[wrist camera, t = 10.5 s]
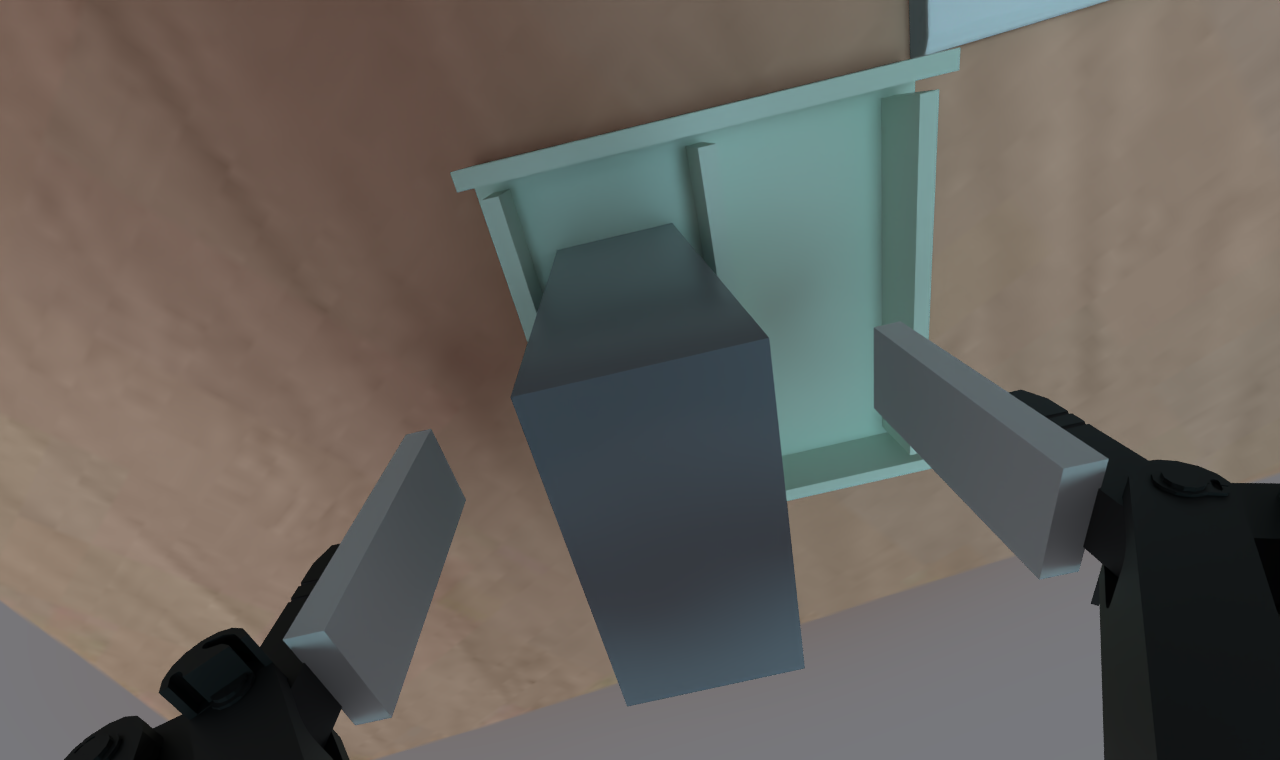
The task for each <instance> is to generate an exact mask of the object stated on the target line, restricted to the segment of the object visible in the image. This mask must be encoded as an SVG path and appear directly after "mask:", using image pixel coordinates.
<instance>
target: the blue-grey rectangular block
mask: <svg viewBox="0 0 1280 760" xmlns="http://www.w3.org/2000/svg"><path fill="white" fill-rule="evenodd" d="M511 400H512V402H513V405H514V408H515V410H516V413H517V416H518V418H519V421H520V424H521V426H522V429H523V432H524V434H525V437H526V439H527V442H528V445H529V447H530V450H531V453H532V455H533V458H534V461H535V463H536V466H537V469H538V471H539V474H540V477H541V479H542V482H543V484H544V487H545V490H546V492H547V495H548V498H549V500H550V503H551V506H552V508H553V511H554V514H555V516H556V519H557V522H558V524H559V527H560V529H561V532H562V535H563V537H564V540H565V543H566V545H567V548H568V551H569V553H570V556H571V559H572V561H573V564H574V567H575V569H576V572H577V574H578V577H579V580H580V582H581V585H582V588H583V590H584V593H585V596H586V598H587V601H588V604H589V606H590V609H591V612H592V614H593V617H594V619H595V622H596V625H597V627H598V630H599V633H600V635H601V638H602V641H603V643H604V646H605V649H606V651H607V654H608V656H609V659H610V662H611V664H612V667H613V670H614V672H615V675H616V678H617V680H618V683H619V686H620V688H621V691H622V694H623V696H624V699H625V701H626V704H627V706H632V705H636V704H641V703H646V702H650V701H655V700H660V699H664V698H669V697H674V696H678V695H683V694H688V693H692V692H697V691H702V690H706V689H711V688H715V687H720V686H725V685H729V684H734V683H739V682H743V681H748V680H753V679H757V678H762V677H767V676H771V675H776V674H780V673H785V672H790V671H794V670H799V669H803V668H805V666H804V657H803V648H802V639H801V629H800V620H799V610H798V601H797V592H796V583H795V573H794V564H793V555H792V545H791V536H790V527H789V517H788V508H787V499H786V490H785V480H784V471H783V462H782V452H781V443H780V434H779V424H778V415H777V406H776V396H775V387H774V378H773V369H772V359H771V350H770V341H769V337H768V336H767V335H766V333H765V332H764V331H763V330H762V329H761V327H760V326H759V325H758V324H757V323H756V322H755V320H754V319H753V318H752V317H751V316H750V314H749V313H748V312H747V311H746V310H745V308H744V307H743V306H742V305H741V304H740V303H739V301H738V300H737V299H736V298H735V297H734V295H733V294H732V293H731V292H730V291H729V290H728V288H727V287H726V286H725V285H724V284H723V282H722V281H721V280H720V279H719V278H718V276H717V275H716V274H715V273H714V272H713V271H712V269H711V268H710V267H709V266H708V265H707V263H706V262H705V261H704V260H703V259H702V258H701V256H700V255H699V254H698V253H697V252H696V250H695V249H694V248H693V247H692V246H691V244H690V243H689V242H688V241H687V240H686V239H685V237H684V236H683V235H682V234H681V233H680V231H679V230H678V229H677V228H676V227H675V226H674V224H673V223H669V224H665V225H661V226H656V227H652V228H648V229H644V230H639V231H635V232H631V233H627V234H623V235H618V236H614V237H610V238H606V239H601V240H597V241H593V242H589V243H584V244H580V245H576V246H572V247H568V248H563V249H559V250H557V252H556V255H555V258H554V261H553V264H552V268H551V271H550V274H549V277H548V280H547V283H546V287H545V290H544V293H543V296H542V299H541V302H540V306H539V309H538V312H537V315H536V318H535V321H534V325H533V328H532V331H531V334H530V337H529V340H528V344H527V347H526V350H525V353H524V356H523V359H522V363H521V366H520V369H519V372H518V375H517V378H516V382H515V385H514V388H513V391H512V394H511Z"/></svg>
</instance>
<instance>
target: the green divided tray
mask: <svg viewBox="0 0 1280 760" xmlns="http://www.w3.org/2000/svg"><path fill="white" fill-rule="evenodd" d="M959 64H960V48H956V49H952V50H947V51H943V52H938V53H934V54H930V55H925V56H921V57H916V58H912V59H908V60H903V61H899V62H895V63H891V64H887V65H883V66H879V67H875V68H870V69H866V70H862V71H858V72H854V73H850V74H846V75H842V76H838V77H834V78H830V79H825V80H821V81H817V82H813V83H809V84H805V85H801V86H797V87H793V88H789V89H785V90H781V91H776V92H772V93H768V94H764V95H760V96H756V97H752V98H748V99H744V100H740V101H736V102H732V103H727V104H723V105H719V106H715V107H711V108H707V109H703V110H699V111H695V112H691V113H687V114H683V115H678V116H674V117H670V118H666V119H662V120H658V121H654V122H650V123H646V124H642V125H638V126H634V127H629V128H625V129H621V130H617V131H613V132H609V133H605V134H601V135H597V136H593V137H589V138H585V139H580V140H576V141H572V142H568V143H564V144H560V145H556V146H552V147H548V148H544V149H540V150H536V151H531V152H527V153H523V154H519V155H515V156H511V157H507V158H503V159H499V160H495V161H491V162H487V163H482V164H478V165H474V166H471V167H467V168H464V169H460V170H457V171H453V172H450V174H451V177H452V179H453V182H454V185H455V188H456V190H457V192H461V191H465V190H469V189H473V188H475V191H476V194H477V197H478V200H479V203H480V206H481V209H482V211H483V214H484V217H485V220H486V223H487V226H488V229H489V232H490V235H491V238H492V240H493V243H494V246H495V249H496V252H497V255H498V258H499V261H500V264H501V267H502V269H503V272H504V275H505V278H506V281H507V284H508V287H509V290H510V293H511V296H512V298H513V301H514V304H515V307H516V310H517V313H518V316H519V319H520V322H521V325H522V327H523V330H524V333H525V336H526V339H527V342H528V340H529V337H530V334H531V331H532V328H533V325H534V321H535V318H536V315H537V312H538V309H539V306H540V302H541V299H542V296H543V293H544V290H545V287H546V283H547V280H548V277H549V274H550V271H551V268H552V264H553V261H554V258H555V255H556V252H557V250H559V249H563V248H568V247H572V246H576V245H580V244H584V243H589V242H593V241H597V240H601V239H606V238H610V237H614V236H618V235H623V234H627V233H631V232H635V231H639V230H644V229H648V228H652V227H656V226H661V225H665V224H669V223H673V224H674V226H675V227H676V228H677V229H678V230H679V231H680V233H681V234H682V235H683V236H684V237H685V239H686V240H687V241H688V242H689V243H690V244H691V246H692V247H693V248H694V249H695V250H696V252H697V253H698V254H699V255H700V256H701V258H702V259H703V260H704V261H705V262H706V263H707V265H708V266H709V267H710V268H711V269H712V271H713V272H714V273H715V274H716V275H717V276H718V278H719V279H720V280H721V281H722V282H723V284H724V285H725V286H726V287H727V288H728V290H729V291H730V292H731V293H732V294H733V295H734V297H735V298H736V299H737V300H738V301H739V303H740V304H741V305H742V306H743V307H744V308H745V310H746V311H747V312H748V313H749V314H750V316H751V317H752V318H753V319H754V320H755V322H756V323H757V324H758V325H759V326H760V327H761V329H762V330H763V331H764V332H765V333H766V335H767V336H768V337H769V341H770V350H771V359H772V369H773V378H774V387H775V396H776V406H777V415H778V424H779V434H780V443H781V452H782V462H783V471H784V480H785V490H786V499H787V501H789V500H794V499H798V498H803V497H807V496H812V495H816V494H820V493H825V492H829V491H834V490H838V489H843V488H847V487H852V486H856V485H860V484H865V483H869V482H874V481H878V480H883V479H887V478H892V477H896V476H900V475H905V474H909V473H914V472H918V471H923V470H927V469H932V468H931V467H930V466H929V465H928V464H927V463H926V462H925V461H924V460H923V459H922V458H921V456H920V455H919V454H918V453H917V452H916V451H915V450H914V449H913V448H912V447H911V446H910V445H909V444H908V443H907V442H906V441H905V440H904V439H903V438H902V437H901V436H900V435H899V434H898V433H897V432H896V431H895V430H894V429H893V427H892V426H891V425H890V424H889V423H888V422H887V421H886V420H885V419H884V418H883V417H882V416H881V415H880V414H879V413H878V412H877V411H876V410H875V409H874V327H877V326H881V325H886V324H890V323H894V322H899V321H901V322H902V323H904V324H905V325H907V326H908V327H910V328H911V329H913V330H914V331H916V332H917V333H919V334H921V335H922V336H924V337H925V338H927V339H928V340H929V318H930V295H931V271H932V248H933V224H934V201H935V177H936V154H937V131H938V107H939V89H938V90H930V91H922V92H915V81H916V80H921V79H925V78H929V77H933V76H937V75H941V74H945V73H949V72H953V71H958V70H959Z"/></svg>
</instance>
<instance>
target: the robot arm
mask: <svg viewBox="0 0 1280 760" xmlns="http://www.w3.org/2000/svg"><path fill="white" fill-rule="evenodd" d="M874 409H875V410H876V411H877V412H878V413H879V414H880V415H881V416H882V417H883V418H884V419H885V420H886V421H887V422H888V423H889V424H890V425H891V426H892V427H893V429H894V430H895V431H896V432H897V433H898V434H899V435H900V436H901V437H902V438H903V439H904V440H905V441H906V442H907V443H908V444H909V445H910V446H911V447H912V448H913V449H914V450H915V451H916V452H917V453H918V454H919V455H920V456H921V458H922V459H923V460H924V461H925V462H926V463H927V464H928V465H929V466H930V467H931V468H932V469H933V470H934V471H935V472H936V473H937V474H938V475H939V476H940V477H941V478H942V479H943V480H944V481H945V482H946V483H947V484H948V486H949V487H950V488H951V489H952V490H953V491H954V492H955V493H956V494H957V495H958V496H959V497H960V498H961V499H962V500H963V501H964V502H965V503H966V504H967V505H968V506H969V507H970V508H971V509H972V510H973V511H974V512H975V514H976V515H977V516H978V517H979V518H980V519H981V520H982V521H983V522H984V523H985V524H986V525H987V526H988V527H989V528H990V529H991V530H992V531H993V532H994V533H995V534H996V535H997V536H998V537H999V538H1000V539H1001V540H1002V541H1003V543H1004V544H1005V545H1006V546H1007V547H1008V548H1009V549H1010V550H1011V551H1012V552H1013V553H1014V554H1015V555H1016V556H1017V557H1018V558H1019V559H1020V560H1021V561H1022V562H1023V563H1024V564H1025V565H1026V566H1027V567H1028V568H1029V569H1030V570H1031V572H1032V573H1033V574H1034V575H1035V576H1036V577H1037V578H1038V579H1045V578H1050V577H1054V576H1059V575H1064V574H1068V573H1073V572H1078V571H1079V568H1080V564H1081V561H1082V557H1083V553H1084V550H1085V549H1086V550H1087V551H1089V552H1090V553H1091V554H1092V555H1093V556H1094V557H1095V558H1097V559H1098V560H1099V561H1100V562H1101V563H1102V568H1101V571H1100V574H1099V578H1098V581H1097V585H1096V588H1095V591H1094V595H1093V598H1092V601H1091V604H1094V605H1097V606H1099V604H1100V630H1101V665H1102V695H1103V697H1102V698H1103V730H1104V760H1280V484H1272V483H1270V484H1268V483H1230V482H1229V481H1227V480H1226V479H1224V478H1223V477H1221V476H1220V475H1218V474H1216V473H1214V472H1211V471H1209V470H1206V469H1204V468H1202V467H1199V466H1196V465H1192V464H1187V463H1183V462H1179V461H1168V460H1152V461H1148V460H1146V459H1145V458H1143V457H1142V456H1140V455H1138V454H1137V453H1135V452H1133V451H1132V450H1130V449H1129V448H1127V447H1125V446H1124V445H1122V444H1121V443H1119V442H1117V441H1116V440H1114V439H1112V438H1111V437H1109V436H1108V435H1106V434H1104V433H1103V432H1101V431H1099V430H1098V429H1096V428H1095V427H1093V426H1091V425H1090V424H1085V421H1083V420H1082V419H1080V418H1078V417H1077V416H1075V415H1074V414H1069V413H1068V411H1067V410H1065V409H1064V408H1062V407H1061V406H1059V405H1057V404H1056V403H1054V402H1052V401H1051V400H1049V399H1048V398H1045V397H1042V396H1039V395H1036V394H1033V393H1030V392H1027V391H1024V390H1018V391H1013V392H1009V393H1008V392H1007V391H1005V390H1004V389H1002V388H1001V387H999V386H998V385H996V384H995V383H993V382H992V381H990V380H989V379H987V378H986V377H984V376H983V375H981V374H980V373H978V372H976V371H975V370H973V369H972V368H970V367H969V366H967V365H966V364H964V363H963V362H961V361H960V360H958V359H957V358H955V357H954V356H952V355H951V354H949V353H948V352H946V351H945V350H943V349H942V348H940V347H939V346H937V345H936V344H934V343H933V342H931V341H930V340H928V339H927V338H925V337H924V336H922V335H921V334H919V333H917V332H916V331H914V330H913V329H911V328H910V327H908V326H907V325H905V324H904V323H902V322H901V321H899V322H894V323H890V324H886V325H881V326H877V327H874ZM465 501H466V499H465V497H464V495H463V493H462V491H461V489H460V487H459V485H458V483H457V481H456V479H455V477H454V475H453V472H452V470H451V468H450V466H449V464H448V462H447V460H446V458H445V456H444V454H443V452H442V450H441V448H440V446H439V444H438V442H437V440H436V438H435V436H434V434H433V432H432V430H431V429H428V430H424V431H420V432H415V433H411V434H407V435H406V436H405V437H404V439H403V441H402V442H401V444H400V445H399V447H398V449H397V450H396V452H395V454H394V455H393V457H392V459H391V460H390V462H389V464H388V465H387V467H386V469H385V470H384V472H383V474H382V475H381V477H380V479H379V480H378V482H377V484H376V485H375V487H374V489H373V490H372V492H371V494H370V495H369V497H368V499H367V500H366V502H365V504H364V505H363V507H362V509H361V510H360V512H359V514H358V515H357V517H356V519H355V520H354V522H353V524H352V525H351V527H350V529H349V530H348V532H347V534H346V535H345V537H344V539H343V540H342V542H341V544H336V545H332V546H331V547H330V548H329V549H328V550H327V551H326V552H325V553H324V554H322V555H321V556H320V557H319V558H318V559H317V560H316V561H315V562H314V563H313V565H312V566H311V568H310V569H309V571H308V572H307V574H306V576H305V577H304V579H303V580H302V582H301V586H299V587H298V588H297V590H296V591H295V593H294V594H293V596H292V598H291V602H288V604H287V605H286V607H285V609H284V610H283V612H282V613H281V615H280V616H279V618H278V620H277V621H276V623H275V624H274V626H273V627H272V629H271V631H270V632H269V634H268V635H267V637H266V638H265V640H264V642H263V643H262V645H261V646H260V647H259V646H258V645H257V644H256V643H255V641H254V640H253V639H252V638H251V637H250V636H249V635H248V634H247V633H246V631H245V630H244V629H243V628H230V629H227V630H224V631H220V632H217V633H216V634H214V635H212V636H210V637H208V638H206V639H204V640H203V641H201V642H200V643H198V644H197V645H196V646H194V647H193V648H192V649H190V650H189V651H188V652H186V653H185V654H184V655H183V656H182V657H181V658H180V659H179V660H178V661H177V662H176V663H175V664H174V665H173V666H172V667H171V669H170V670H169V672H168V673H167V674H166V676H165V677H164V679H163V680H162V683H161V687H160V690H159V693H160V694H161V695H162V696H163V697H164V698H165V699H166V700H167V701H168V702H170V703H171V704H172V705H173V706H174V707H175V708H176V709H177V710H178V711H180V712H181V713H182V715H180V716H178V717H176V718H174V719H172V720H170V721H168V722H166V723H164V724H162V725H159V726H158V727H155V728H151V727H150V726H149V725H148V724H147V723H146V722H144V721H143V720H142V719H141V718H139V717H138V716H128V717H123V718H121V719H119V720H116V721H114V722H112V723H109V724H108V725H106V726H104V727H103V728H101V729H100V730H98V731H97V732H95V733H93V734H92V735H90V736H89V737H88V738H86V739H85V740H84V741H83V742H82V743H80V744H79V745H78V746H77V747H75V749H73V750H72V751H71V753H70V754H69V755H68V756H67V757H66V758H65V759H64V760H349V757H348V755H347V752H346V750H345V747H344V745H343V742H342V740H341V738H340V737H339V736H338V734H337V733H336V732H335V731H334V730H333V727H334V725H335V722H336V720H337V718H338V715H339V713H340V711H341V709H342V710H343V711H344V713H345V714H346V715H347V716H348V717H349V718H350V720H351V721H352V722H353V723H354V724H355V725H359V724H364V723H368V722H373V721H378V720H383V719H387V718H392V715H393V712H394V709H395V706H396V703H397V700H398V698H399V695H400V692H401V689H402V686H403V683H404V680H405V677H406V674H407V671H408V668H409V665H410V662H411V659H412V656H413V654H414V651H415V648H416V645H417V642H418V639H419V636H420V633H421V630H422V627H423V624H424V621H425V618H426V615H427V612H428V610H429V607H430V604H431V601H432V598H433V595H434V592H435V589H436V586H437V583H438V580H439V577H440V574H441V571H442V569H443V566H444V563H445V560H446V557H447V554H448V551H449V548H450V545H451V542H452V539H453V536H454V533H455V530H456V527H457V525H458V522H459V519H460V516H461V513H462V510H463V507H464V504H465Z"/></svg>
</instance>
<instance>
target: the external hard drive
mask: <svg viewBox="0 0 1280 760" xmlns="http://www.w3.org/2000/svg"><path fill="white" fill-rule="evenodd" d="M1106 1H1109V0H909V21H910V58H911V59H912V58H916V57H921V56H925V55H930V54H934V53H937V52H940V51H944V50H947V49H950V48H953V47H956V46H960V45H963V44H966V43H970V42H973V41H977V40H980V39H984V38H987V37H990V36H993V35H997V34H1000V33H1003V32H1007V31H1010V30H1013V29H1017V28H1020V27H1023V26H1027V25H1030V24H1033V23H1037V22H1040V21H1043V20H1046V19H1050V18H1053V17H1056V16H1060V15H1063V14H1066V13H1069V12H1073V11H1076V10H1079V9H1083V8H1086V7H1089V6H1092V5H1096V4H1099V3H1102V2H1106Z"/></svg>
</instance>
